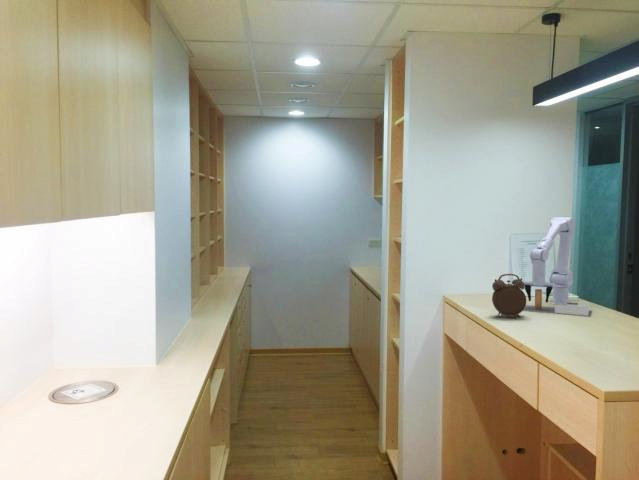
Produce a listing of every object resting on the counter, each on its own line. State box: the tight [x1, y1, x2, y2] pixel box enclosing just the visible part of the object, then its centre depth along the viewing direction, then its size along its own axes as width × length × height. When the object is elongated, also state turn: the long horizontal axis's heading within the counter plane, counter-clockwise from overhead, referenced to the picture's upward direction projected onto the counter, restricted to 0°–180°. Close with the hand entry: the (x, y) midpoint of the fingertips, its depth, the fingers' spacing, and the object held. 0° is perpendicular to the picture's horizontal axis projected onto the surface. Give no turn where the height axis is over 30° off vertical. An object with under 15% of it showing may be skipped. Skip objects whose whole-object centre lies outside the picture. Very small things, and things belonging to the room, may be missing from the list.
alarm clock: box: [491, 273, 527, 318], centre depth 242 cm, size 15×7×20 cm, turn 84°
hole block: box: [554, 300, 591, 317], centre depth 248 cm, size 12×14×4 cm
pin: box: [534, 288, 543, 310], centre depth 256 cm, size 3×3×10 cm
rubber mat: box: [522, 304, 593, 318], centre depth 252 cm, size 14×30×1 cm, turn 60°
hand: (538, 301), depth 256 cm, fingers open, 7 cm apart
